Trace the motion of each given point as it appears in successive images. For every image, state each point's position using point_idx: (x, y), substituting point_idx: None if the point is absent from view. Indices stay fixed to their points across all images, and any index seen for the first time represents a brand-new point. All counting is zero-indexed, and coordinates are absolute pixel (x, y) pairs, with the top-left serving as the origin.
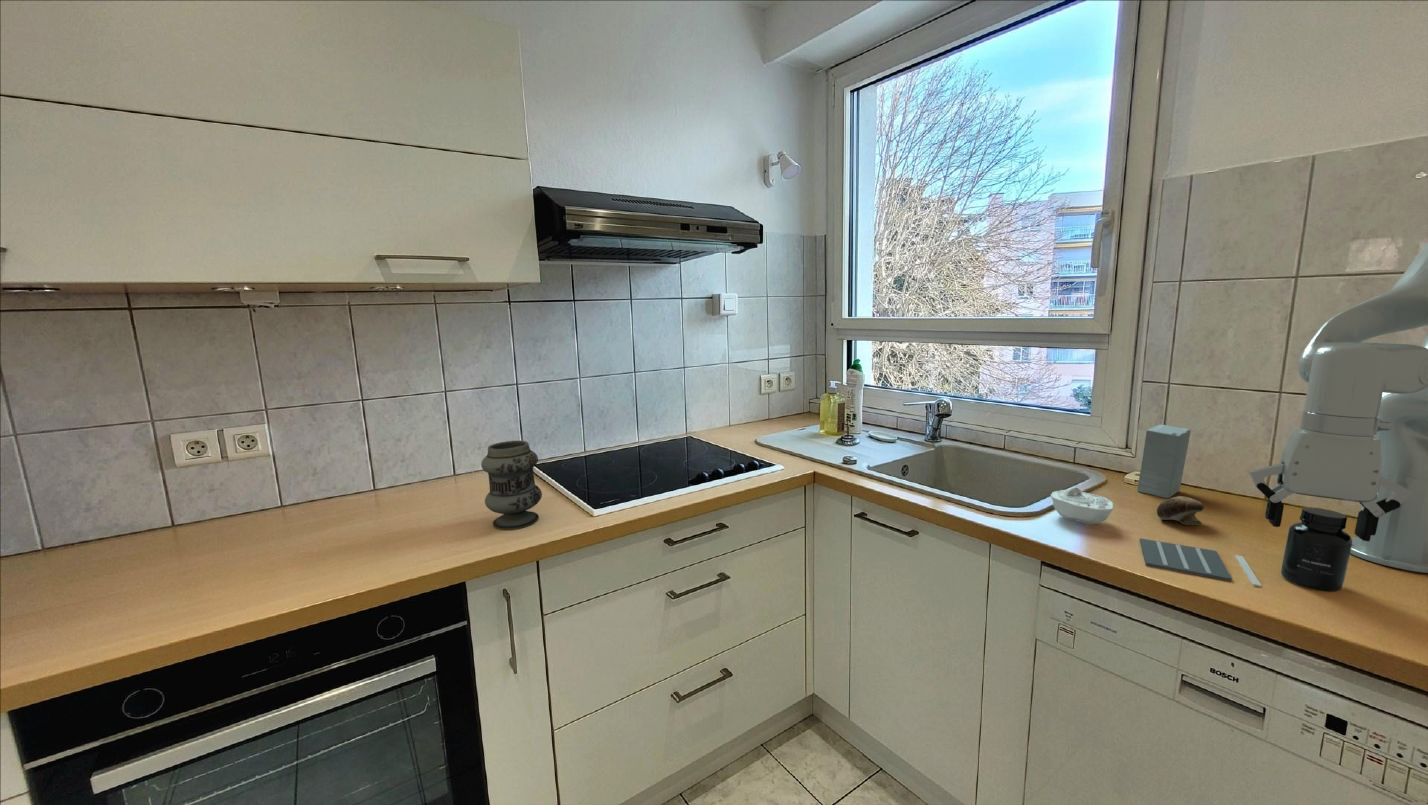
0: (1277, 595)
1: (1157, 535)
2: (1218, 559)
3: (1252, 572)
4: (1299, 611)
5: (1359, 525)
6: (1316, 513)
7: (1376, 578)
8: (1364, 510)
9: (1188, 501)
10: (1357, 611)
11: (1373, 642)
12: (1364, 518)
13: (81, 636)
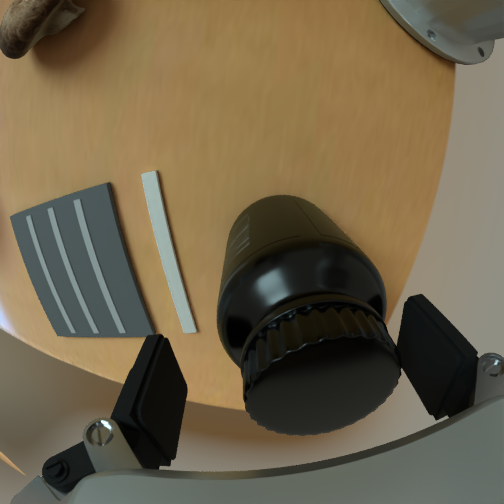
0: (220, 347)
1: (23, 150)
2: (116, 245)
3: (178, 274)
4: None
5: (421, 347)
6: (288, 426)
7: (404, 127)
8: (458, 392)
9: (18, 22)
10: None
11: None
12: (430, 397)
13: (12, 466)
